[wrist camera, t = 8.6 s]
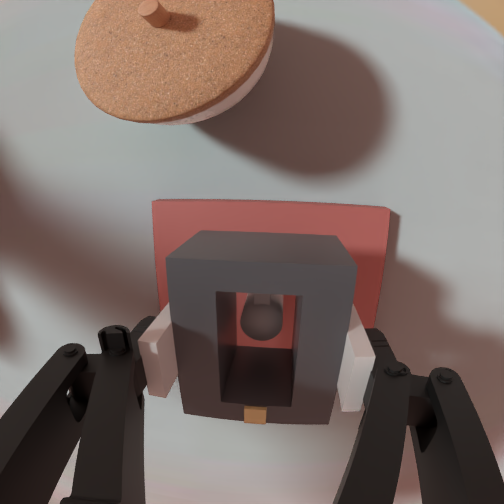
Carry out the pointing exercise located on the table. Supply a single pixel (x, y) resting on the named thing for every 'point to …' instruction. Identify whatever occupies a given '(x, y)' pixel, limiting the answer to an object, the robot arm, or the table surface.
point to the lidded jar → (172, 56)
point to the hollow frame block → (259, 358)
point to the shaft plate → (277, 221)
